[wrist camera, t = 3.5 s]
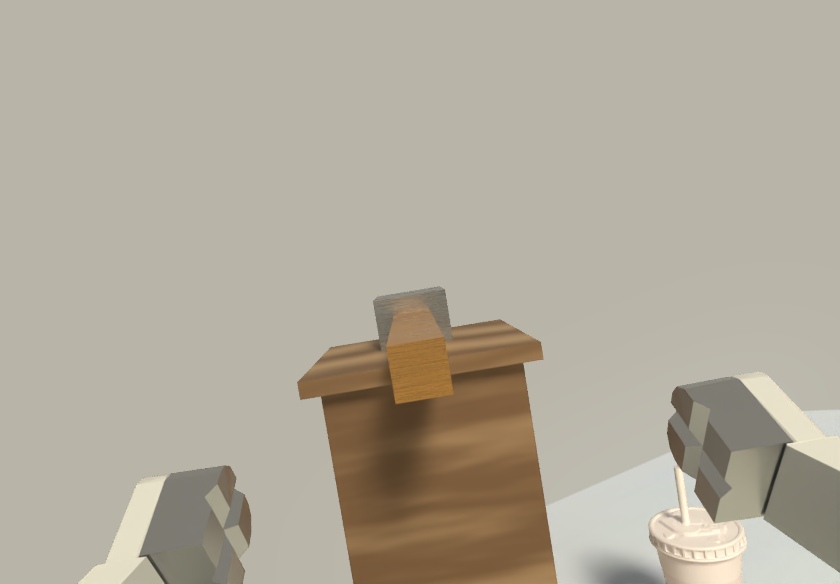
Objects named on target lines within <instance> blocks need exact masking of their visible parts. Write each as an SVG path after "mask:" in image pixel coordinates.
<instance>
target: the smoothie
mask: <svg viewBox="0 0 840 584" xmlns="http://www.w3.org/2000/svg"><path fill="white" fill-rule="evenodd" d="M674 472H675V479H676V486H677V493H678V500H679V507H678V508H672V509H668V510H665V511H662V512H660V513H658V514H656V515H655V516H654V517H652V518H651V520H650V521H649V525H648V527H649V533H650V534H649V539H650V541H651V544H652V545H653V546H654V547H655V548H656V549H657V552H658V556H659V560H660V564H661V567H662V570H663V574H664V577H665V581H666V584H742V552H743V551H744V550H745V548H746V546H747V540H746V537H745V532H744V528H743V526H742V524H741V523H740V522H739V521H738V520H735V521H728V522H722V523H715V524H714V522H713V520H712V519H711V517H710V516H709V514H708V512H707V511H706V509H705V508H703V507H688V505H687V498H686V491H685V484H684V477H683V471H681V469H680V467H679V466H674Z"/></svg>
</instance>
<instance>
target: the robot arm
mask: <svg viewBox="0 0 840 584" xmlns="http://www.w3.org/2000/svg"><path fill="white" fill-rule="evenodd" d="M671 403H672V405H673V406H674V408H675V409H676V413H675V414H674V415H673V416H672V417H671V418H670V419H669V421H668V431H667V435H668V440H669V445H670V449H671V452H672V454H673V456H674V459H675V461H676V462H677V464H678V466H679V467H680V469H681V471H683V472H684V473H686V474H688V475H689V476H691V477H693V478H695V479H696V485H695V491H694V492H695V493H696V495H697V497H698V498H699V500H700V501H701V503H702V504H703V506H704V508H705V509H706V511H707V512H708V514H709V516H710V517H711V519H712V520H713V522H714V524H715V523H722V522H728V521H735V520H742V519H749V518H755V517H762V516H764V518H763V519H764V520H766V521H767V522H768V523H770V524H771V525H773V526H774V527H776V528H777V529H778V530H780V531H781V532H783V533H784V534H786V535H787V536H788V537H790V538H791V539H793V540H794V541H795V542H797V543H798V544H800V545H801V546H803V547H804V548H805V549H807V550H808V551H810V552H811V553H813V554H814V555H815V556H817V557H818V558H820V559H821V560H822V561H824V562H825V563H827V564H828V565H830V566H831V567H832V568H834V569H835V570H837V571H838V572H840V437H837V436H829V437H826V436H825V435H824V434H823V432H822V431H821V430H820V429H819V428H818V427H817V426H816V425H815V424H814V423H813V422H812V421H811V420H810V419H809V418H808V417H807V416H806V415H805V414H804V413H803V412H802V411H801V410H800V409H799V408H798V407H797V406H796V405H795V404H794V403H793V401H792V400H791V399H790V398H789V397H788V396H787V395H786V394H785V393H784V392H783V391H782V390H781V389H780V388H779V387H778V386H777V385H776V384H775V383H774V382H773V381H772V380H771V379H770V378H769V377H768V376H767V375H766V374H764V373H762V372H754V373H748V374H743V375H737V376H732V377H725V378H720V379H714V380H709V381H704V382H699V383H693V384H687V385H682V386H677V387H676V388H675V390H674V391H673V393H672V400H671ZM235 483H236V476H235V475H234V473H233V471H232V469H231V467H230V466H219V467H213V468H205V469H198V470H192V471H185V472H178V473H171V474H168V475H162V476H154V477H148V478H143V479H142V480H141V481H140V482H139V483H138V484H137V485H136V487H135V489H134V492H133V494H132V497H131V499H130V502H129V504H128V507H127V509H126V512H125V514H124V517H123V519H122V521H121V524H120V526H119V529H118V531H117V534H116V537H115V539H114V541H113V544H112V546H111V549H110V551H109V554H108V556H107V559H106V561H105V563H104V564H100V565H96V566H95V567H94V568H93V569H92V570H91V571H90V572H89V573H88V574H86V576H85V577H83V579H82V580H80V581H79V582H78V583H77V584H243V579H244V573H245V570H244V568H243V566H242V564H241V562H240V560H239V559H240V557H241V556H242V555H243V554H244V552H245V551H246V550H247V549H248V547H249V544H250V537H251V514H250V509H249V505H248V502H247V500H246V498H245V495H244V494H243V493H241V492H239V491H237V490H235V489H234V487H235Z"/></svg>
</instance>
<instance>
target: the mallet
mask: <svg viewBox="0 0 840 584" xmlns="http://www.w3.org/2000/svg"><path fill="white" fill-rule="evenodd" d="M373 304H374V309H375V316H376V322H377V327H378V333H379V340H380V345H381V351H385V350H387V356H388V362H389V368H390V374H391V379H392V385H393V391H394V397H395V403H396V404H400V403H406V402H412V401H418V400H424V399H430V398H436V397H442V396H448V395H454V393H453V387H452V381H451V375H450V369H449V363H448V356H447V350H446V344H445V341H446V340H452V339H453V338H452V331H451V325H450V319H449V313H448V306H447V300H446V294H445V289H443V288H441V287H434V288H428V289H422V290H416V291H409V292H404V293H397V294H391V295H385V296H379V297H377V298H376V299H375V300H374V301H373Z"/></svg>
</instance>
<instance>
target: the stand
mask: <svg viewBox="0 0 840 584" xmlns="http://www.w3.org/2000/svg"><path fill="white" fill-rule="evenodd" d="M451 331H452V338H453V339H452V340H446V341H445V344H446V350H447V356H448V363H449V369H450V375H451V381H452V387H453V393H454V395H448V396H442V397H436V398H430V399H424V400H418V401H412V402H406V403H400V404H396V403H395V397H394V391H393V385H392V379H391V374H390V368H389V362H388V356H387V350H385V351H381V345H380V340H373V341H367V342H361V343H355V344H348V345H343V346H336V347H331V348H330V349H329V350H328V351H327V352H326V353H325V354H324V355H323V356H322V357H321V358H320V359H319V360H318V361H317V362H316V363H315V364H314V366H313V367H312V368H311V369H310V370H309V371H308V372H307V373H306V374H305V375H304V376H303V377H302V378H301V379H300V380H299V381H298V382H297V383H298V389H299V395H300V399H301V400H302V399H308V398H314V397H320V396H321V398H322V404H323V410H324V415H325V422H326V427H327V433H328V439H329V444H330V450H331V456H332V462H333V468H334V473H335V479H336V485H337V491H338V497H339V502H340V508H341V514H342V520H343V526H344V531H345V537H346V543H347V548H348V554H349V560H350V566H351V571H352V577H353V583H354V584H557V577H556V571H555V565H554V558H553V552H552V545H551V539H550V532H549V526H548V520H547V513H546V507H545V501H544V494H543V488H542V482H541V475H540V468H539V463H538V456H537V449H536V442H535V436H534V430H533V423H532V417H531V411H530V404H529V397H528V391H527V385H526V378H525V372H524V365H523V363H524V362H530V361H536V360H542V359H543V353H542V347H541V342H540V341H538V340H536V339H534V338H532V337H531V336H529V335H527V334H525V333H523V332H522V331H520V330H518V329H516V328H514V327H513V326H511V325H509V324H507V323H505V322H504V321H502V320H494V321H488V322H482V323H476V324H469V325H463V326H458V327H451Z"/></svg>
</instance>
